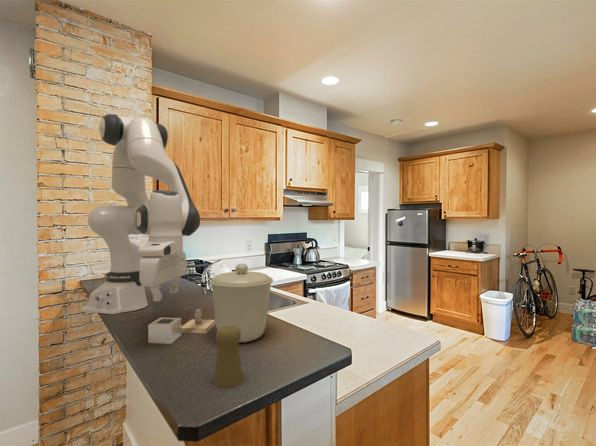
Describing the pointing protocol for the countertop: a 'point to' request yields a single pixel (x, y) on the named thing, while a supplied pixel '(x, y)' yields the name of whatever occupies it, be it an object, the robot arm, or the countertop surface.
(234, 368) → the olive pepper mill
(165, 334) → the white hollow square block
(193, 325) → the base plate
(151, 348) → the countertop surface
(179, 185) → the robot arm
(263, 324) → the canister
